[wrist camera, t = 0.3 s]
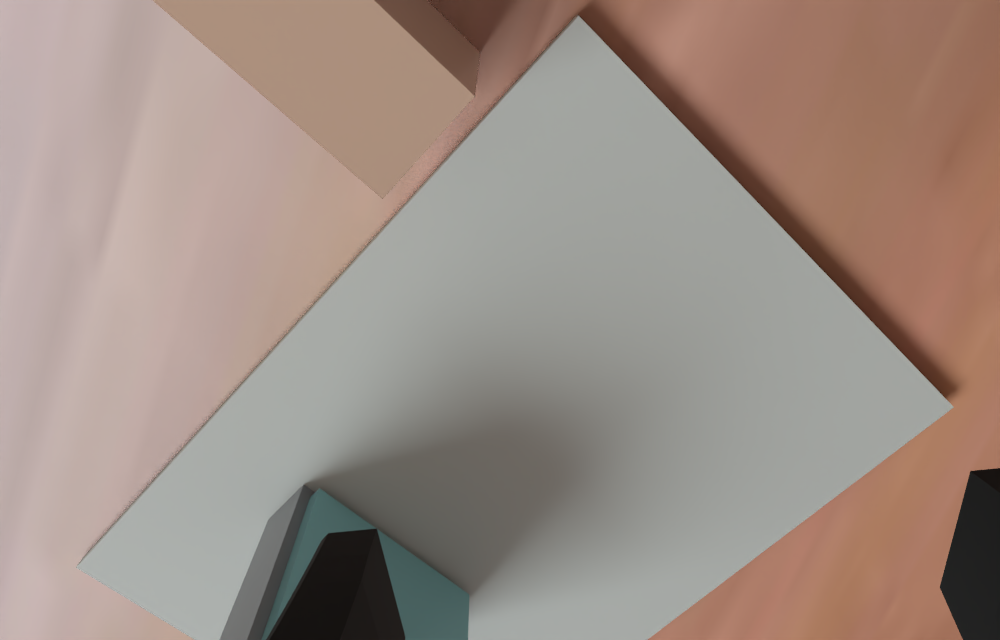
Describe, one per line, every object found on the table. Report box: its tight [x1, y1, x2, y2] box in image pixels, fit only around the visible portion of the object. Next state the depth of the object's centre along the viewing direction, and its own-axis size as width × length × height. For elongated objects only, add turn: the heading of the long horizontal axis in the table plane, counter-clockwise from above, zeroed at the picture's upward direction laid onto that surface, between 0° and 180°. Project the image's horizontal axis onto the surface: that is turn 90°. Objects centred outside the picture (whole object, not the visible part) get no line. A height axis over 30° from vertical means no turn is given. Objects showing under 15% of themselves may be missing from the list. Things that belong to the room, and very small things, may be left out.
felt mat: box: [76, 15, 953, 640], centre depth 22 cm, size 20×14×1 cm
